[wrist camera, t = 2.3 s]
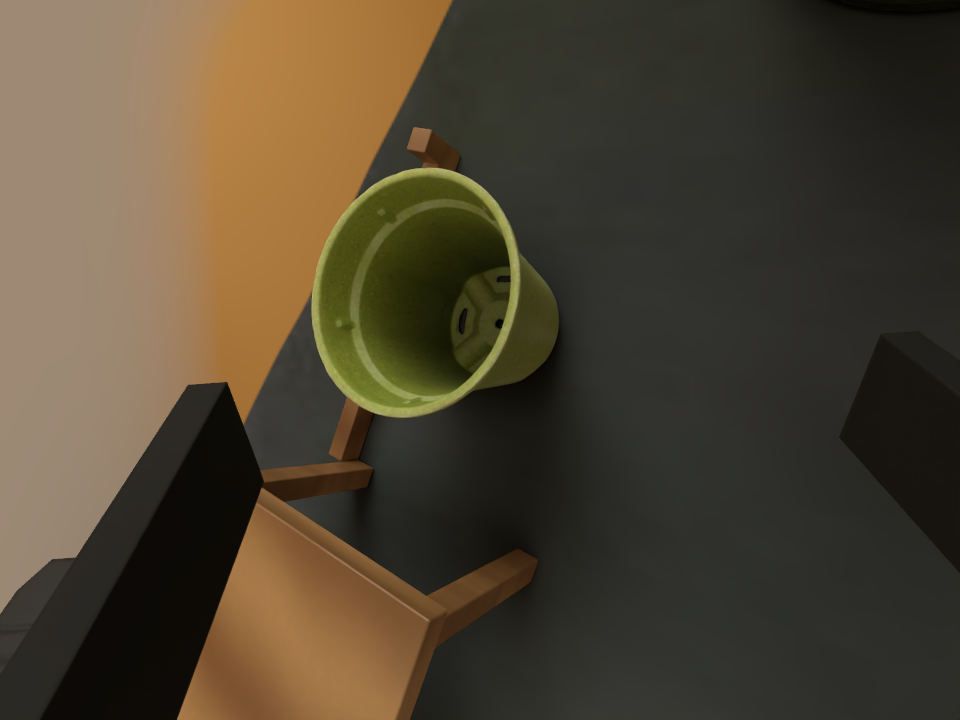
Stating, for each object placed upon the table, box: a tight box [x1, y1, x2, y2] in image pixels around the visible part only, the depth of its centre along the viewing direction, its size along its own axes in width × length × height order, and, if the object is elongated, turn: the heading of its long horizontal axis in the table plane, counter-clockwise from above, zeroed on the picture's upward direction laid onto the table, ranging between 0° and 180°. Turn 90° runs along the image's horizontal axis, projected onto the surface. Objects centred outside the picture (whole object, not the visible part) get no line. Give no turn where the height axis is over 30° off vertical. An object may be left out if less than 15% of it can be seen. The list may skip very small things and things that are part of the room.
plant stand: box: [177, 127, 538, 720], centre depth 24 cm, size 30×13×11 cm, turn 159°
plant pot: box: [312, 168, 559, 418], centre depth 24 cm, size 9×9×9 cm
